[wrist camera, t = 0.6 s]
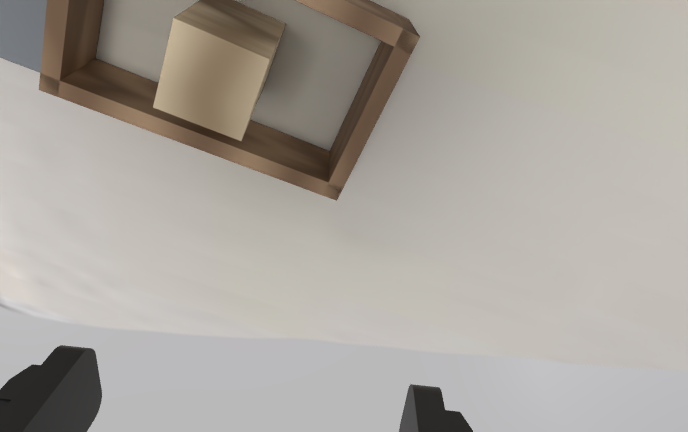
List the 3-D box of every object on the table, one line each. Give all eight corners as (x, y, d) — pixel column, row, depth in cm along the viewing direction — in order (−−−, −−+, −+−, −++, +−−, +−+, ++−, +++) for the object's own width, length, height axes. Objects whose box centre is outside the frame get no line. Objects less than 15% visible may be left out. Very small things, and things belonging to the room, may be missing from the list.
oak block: (194, 62, 30) (153, 107, 23) (213, -9, 28) (173, 17, 21) (262, 90, 31) (241, 141, 24) (285, 24, 29) (269, 59, 22)
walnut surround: (76, 66, 30) (38, 89, 26) (102, -130, 24) (59, -137, 21) (337, 168, 34) (336, 200, 30) (409, 19, 28) (419, 36, 25)
